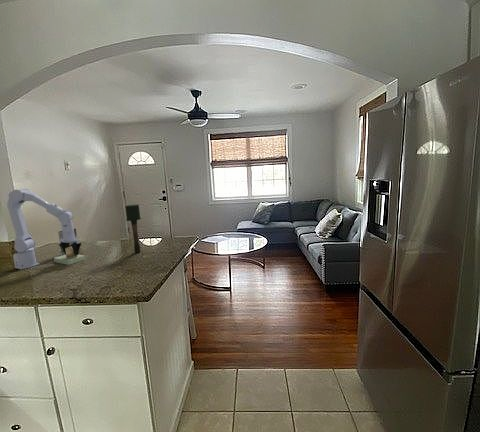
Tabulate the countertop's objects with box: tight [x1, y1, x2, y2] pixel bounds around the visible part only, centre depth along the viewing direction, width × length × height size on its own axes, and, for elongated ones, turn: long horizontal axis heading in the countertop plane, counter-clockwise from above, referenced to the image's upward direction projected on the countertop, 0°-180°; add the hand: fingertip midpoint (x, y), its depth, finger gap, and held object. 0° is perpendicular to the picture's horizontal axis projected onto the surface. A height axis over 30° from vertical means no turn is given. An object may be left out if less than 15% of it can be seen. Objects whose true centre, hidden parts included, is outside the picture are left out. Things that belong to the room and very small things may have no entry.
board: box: [53, 254, 87, 266], centre depth 166 cm, size 10×15×2 cm, turn 61°
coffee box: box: [57, 228, 78, 256], centre depth 180 cm, size 9×6×16 cm
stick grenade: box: [124, 204, 142, 254], centre depth 174 cm, size 8×9×30 cm
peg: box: [65, 247, 78, 259], centre depth 164 cm, size 6×6×8 cm
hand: (72, 254), depth 164 cm, fingers open, 7 cm apart
